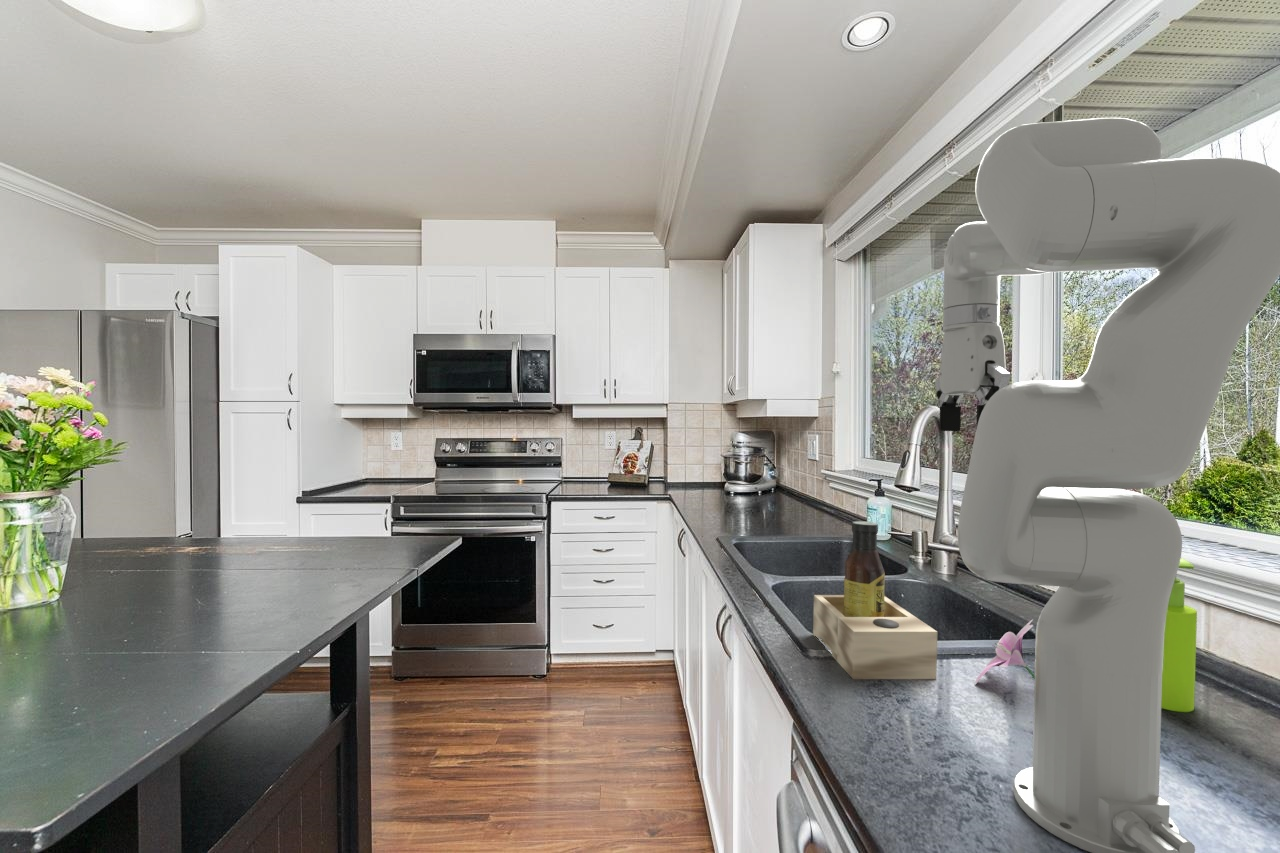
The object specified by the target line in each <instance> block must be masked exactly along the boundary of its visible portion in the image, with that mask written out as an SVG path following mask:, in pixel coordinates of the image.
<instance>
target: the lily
mask: <svg viewBox="0 0 1280 853" xmlns="http://www.w3.org/2000/svg"><path fill="white" fill-rule="evenodd" d="M1033 621H1034V619H1031V620H1030V621H1028V623H1026V624H1025V625H1024V626H1023V627H1022V628H1021V629H1020V630H1019V632H1018V633H1017V634H1015V633H1014V632H1013V631H1008V632H1005V633H1004V634H1003V636H1001V638H1000V639H999V641H998V642H997V643H994V645H992V647H995V654H996V655H995V656H994V657H993V658H991V660H990V661H989V662H988V663H987V664H986V666H985V667H984V668H983V669H982V670H981V672H980V673H979V674H978V676H977V677H976V679H975V682H974V685H976V684H977V683H979V681H980V679H981V678H982V677H983V676H984V675H985V674H986V673H987V672H988V671H989V670H991V668H994V667H1001V668H1008V666H1009V667H1010V666H1011V667H1012V666H1022V667H1023V668H1025V669H1026V670H1027V672H1029V674H1030V676H1032V678H1033V680H1035V673H1033V672H1032V671H1031V669H1030V668H1029V667H1028V666H1027V664H1026V663H1025V662H1024V656H1023V646H1022V643H1023V642H1022V641H1023V636H1024V635H1025V634H1026V633H1027V632H1028V631H1029V630H1030V629H1032V628H1033V626H1034V624H1031V623H1032V622H1033Z"/></svg>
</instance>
